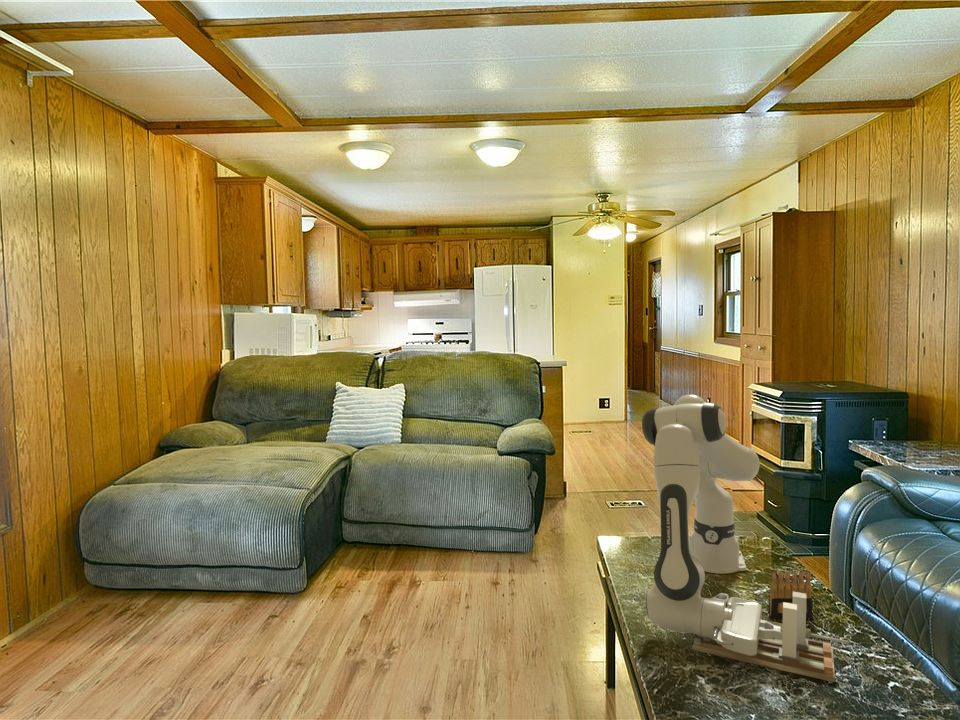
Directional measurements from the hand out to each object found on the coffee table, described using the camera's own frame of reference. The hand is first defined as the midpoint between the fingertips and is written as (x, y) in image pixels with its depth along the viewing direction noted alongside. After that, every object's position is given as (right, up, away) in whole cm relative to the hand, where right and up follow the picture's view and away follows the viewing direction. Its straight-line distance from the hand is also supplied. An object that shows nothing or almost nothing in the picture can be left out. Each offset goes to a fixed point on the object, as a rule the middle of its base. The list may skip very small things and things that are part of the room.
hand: (782, 633), depth 138 cm
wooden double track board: (-2, -7, +6) cm, 9 cm away
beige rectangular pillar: (+1, -5, 0) cm, 6 cm away
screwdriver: (+11, -6, +11) cm, 17 cm away
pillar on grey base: (+6, -5, +5) cm, 9 cm away
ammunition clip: (+13, -6, +22) cm, 27 cm away
